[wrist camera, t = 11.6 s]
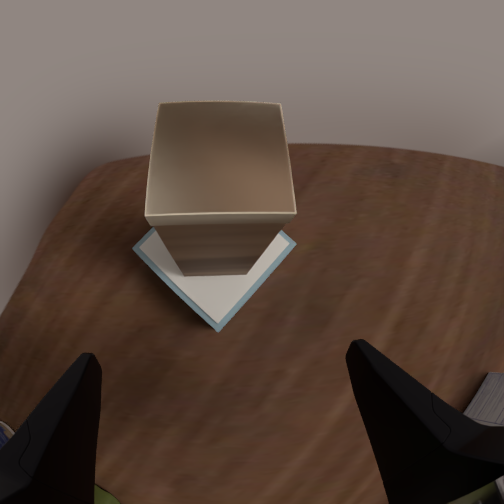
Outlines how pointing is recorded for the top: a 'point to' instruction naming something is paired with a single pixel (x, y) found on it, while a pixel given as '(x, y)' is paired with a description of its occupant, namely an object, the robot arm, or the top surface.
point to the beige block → (219, 183)
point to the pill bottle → (5, 433)
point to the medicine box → (488, 402)
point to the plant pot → (103, 497)
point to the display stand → (212, 278)
